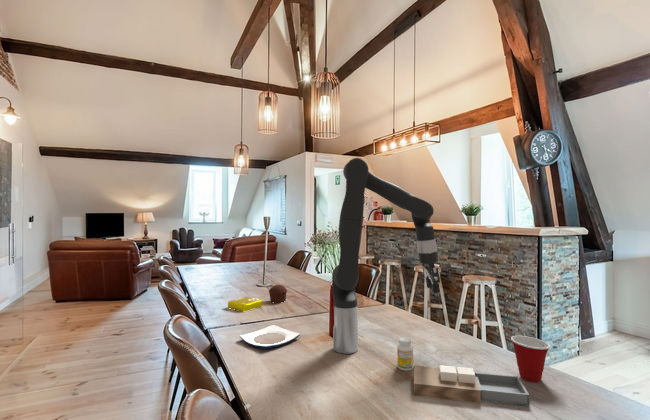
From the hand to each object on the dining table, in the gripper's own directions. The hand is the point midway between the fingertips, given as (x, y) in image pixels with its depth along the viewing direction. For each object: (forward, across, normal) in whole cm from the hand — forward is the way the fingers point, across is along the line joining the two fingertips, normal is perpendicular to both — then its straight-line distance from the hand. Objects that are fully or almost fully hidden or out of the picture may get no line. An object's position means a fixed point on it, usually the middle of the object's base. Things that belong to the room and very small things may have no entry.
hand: (432, 290), depth 139 cm
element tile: (+13, -59, -94) cm, 112 cm away
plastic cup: (+24, +30, +19) cm, 43 cm away
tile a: (+17, +36, -8) cm, 40 cm away
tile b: (+17, +37, -4) cm, 41 cm away
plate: (+14, -6, -70) cm, 72 cm away
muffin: (+15, -71, -76) cm, 105 cm away
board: (+20, +36, -10) cm, 42 cm away
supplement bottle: (+20, +21, -18) cm, 34 cm away
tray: (+22, +38, +5) cm, 45 cm away
